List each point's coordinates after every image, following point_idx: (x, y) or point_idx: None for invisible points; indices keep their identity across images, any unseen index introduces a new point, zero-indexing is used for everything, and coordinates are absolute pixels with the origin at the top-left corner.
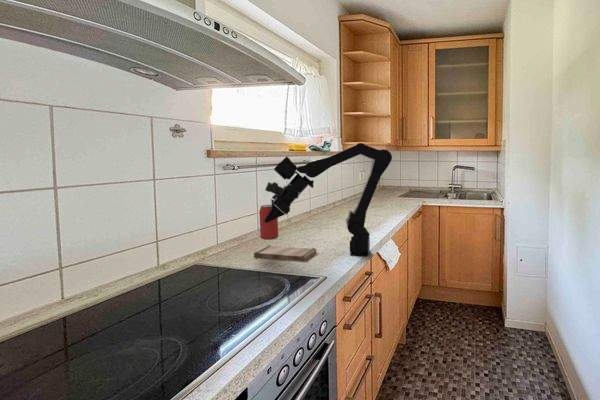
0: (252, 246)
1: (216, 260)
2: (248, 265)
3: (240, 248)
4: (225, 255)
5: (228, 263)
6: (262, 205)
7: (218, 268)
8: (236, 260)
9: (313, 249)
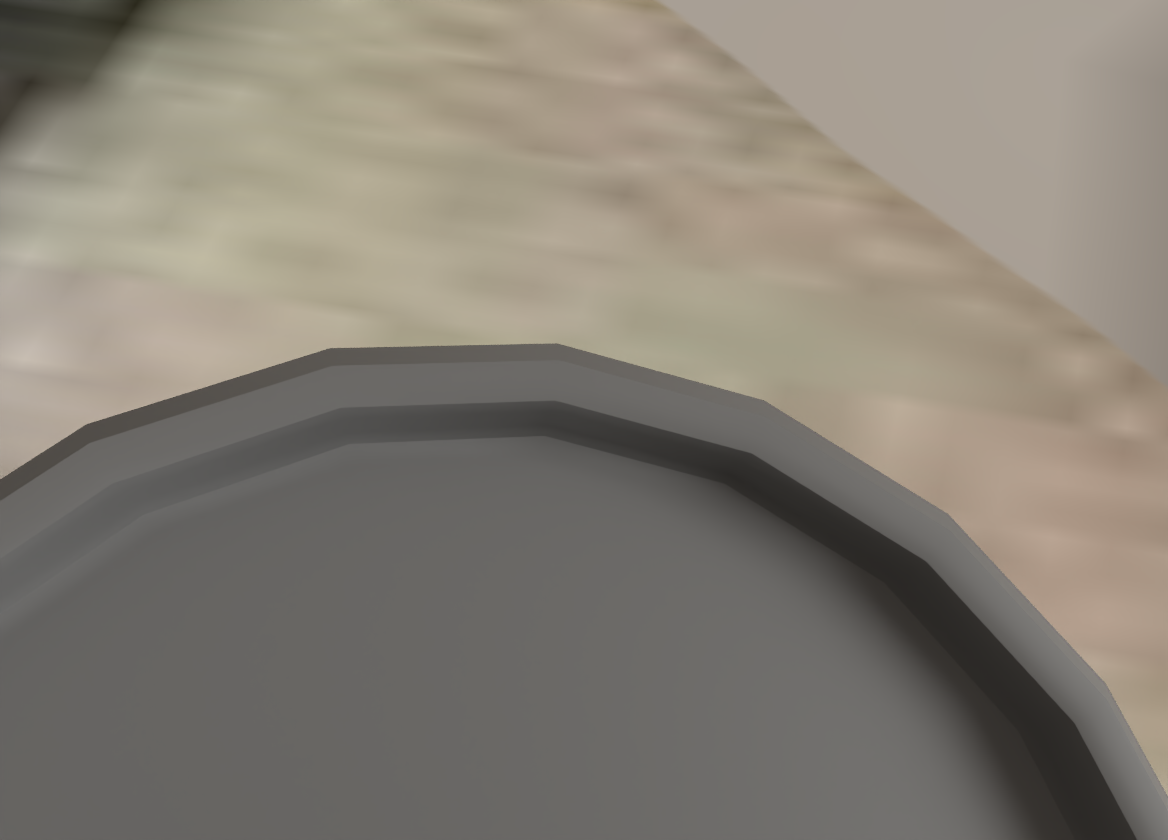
0: (1096, 601)
1: (460, 63)
2: (8, 369)
3: (1005, 420)
4: (673, 190)
5: (249, 158)
6: (961, 595)
7: (61, 23)
8: (361, 269)
9: None
